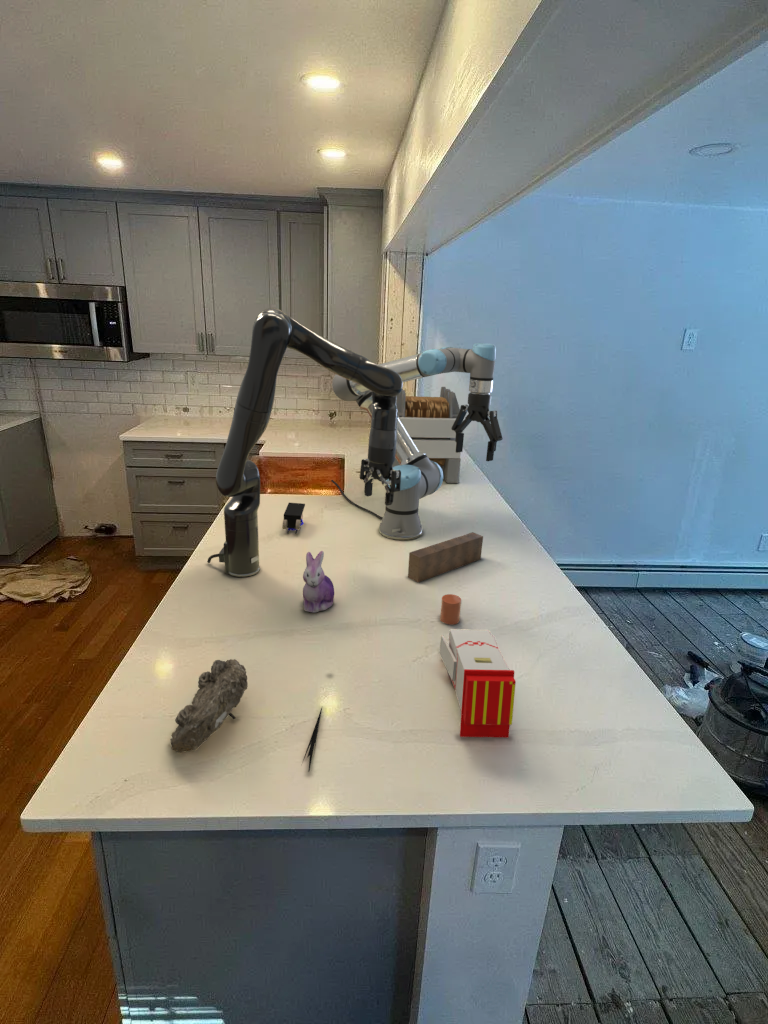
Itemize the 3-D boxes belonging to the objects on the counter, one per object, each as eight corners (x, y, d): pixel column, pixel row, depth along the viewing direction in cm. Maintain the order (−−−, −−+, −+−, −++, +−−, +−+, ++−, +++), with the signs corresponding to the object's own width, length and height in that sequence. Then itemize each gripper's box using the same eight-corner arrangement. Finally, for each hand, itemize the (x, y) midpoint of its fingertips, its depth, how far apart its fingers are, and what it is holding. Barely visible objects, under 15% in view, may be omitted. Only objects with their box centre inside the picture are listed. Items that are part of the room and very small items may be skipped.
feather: (331, 679, 122) (336, 673, 122) (307, 777, 96) (313, 769, 95) (324, 675, 122) (329, 669, 121) (298, 772, 95) (304, 764, 95)
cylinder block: (435, 618, 146) (437, 597, 144) (449, 612, 149) (451, 592, 147) (450, 626, 143) (452, 605, 141) (463, 620, 146) (465, 599, 144)
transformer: (381, 463, 289) (385, 382, 275) (444, 464, 292) (450, 384, 279) (389, 482, 257) (393, 392, 243) (459, 483, 261) (467, 394, 247)
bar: (418, 582, 165) (419, 557, 162) (407, 577, 168) (409, 552, 165) (480, 559, 182) (483, 536, 180) (470, 554, 185) (472, 532, 183)
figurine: (308, 617, 144) (307, 563, 139) (294, 599, 152) (294, 548, 147) (342, 610, 148) (343, 557, 143) (327, 592, 156) (328, 542, 151)
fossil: (195, 660, 117) (247, 628, 112) (227, 691, 120) (279, 661, 115) (146, 746, 98) (206, 711, 93) (185, 779, 101) (245, 748, 96)
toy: (489, 613, 130) (525, 677, 101) (485, 667, 133) (518, 744, 104) (437, 612, 130) (457, 676, 101) (434, 666, 133) (453, 743, 103)
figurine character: (301, 540, 194) (306, 519, 208) (300, 520, 191) (305, 501, 204) (281, 539, 194) (287, 519, 207) (280, 519, 191) (287, 500, 204)
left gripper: (355, 439, 156) (351, 495, 162) (390, 452, 146) (385, 510, 152) (375, 436, 161) (371, 490, 167) (410, 448, 151) (405, 505, 157)
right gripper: (444, 388, 192) (439, 449, 199) (503, 399, 174) (495, 466, 181) (459, 387, 196) (454, 447, 203) (518, 397, 179) (510, 462, 186)
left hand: (378, 500), depth 159 cm, fingers open, 8 cm apart
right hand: (473, 456), depth 192 cm, fingers open, 13 cm apart
